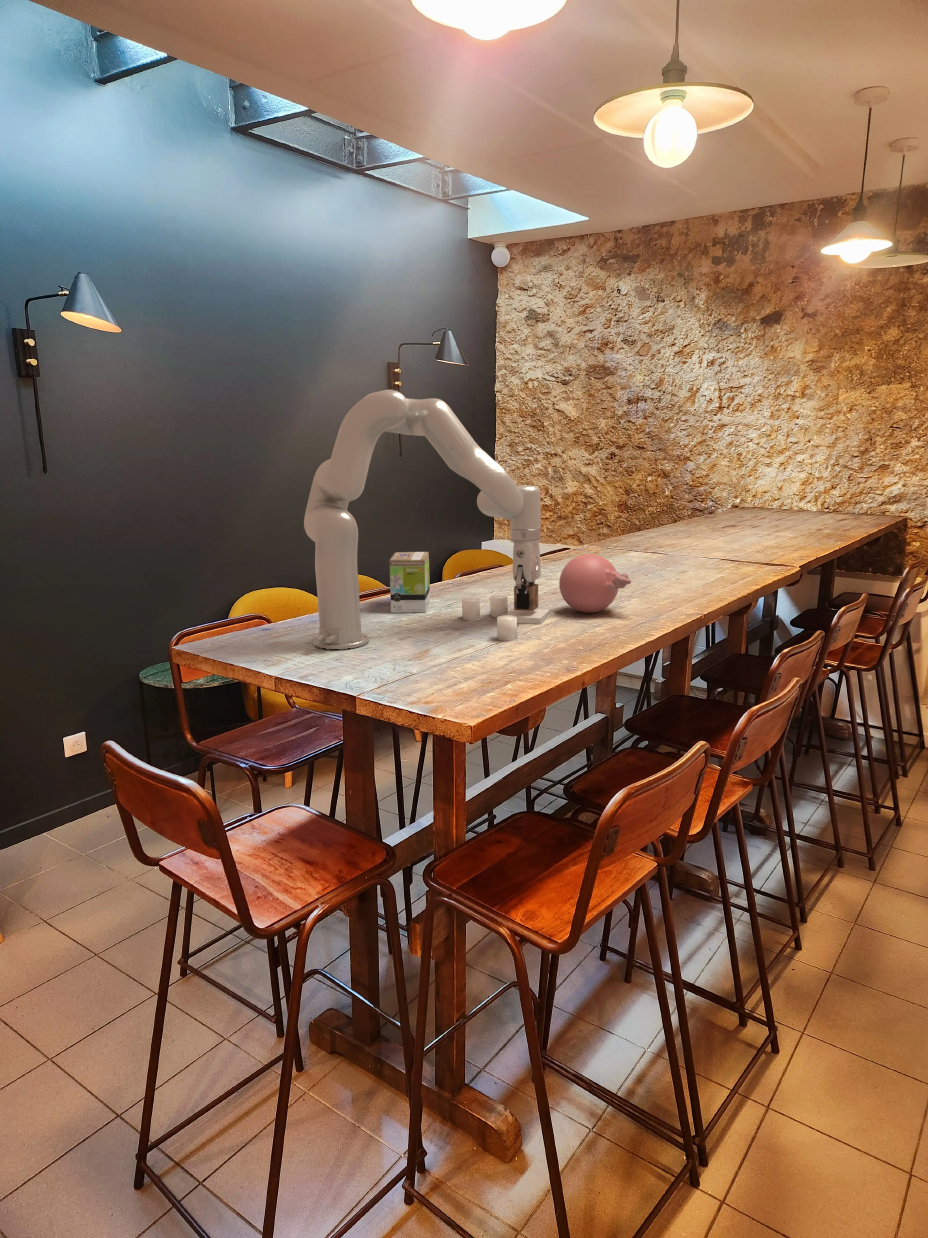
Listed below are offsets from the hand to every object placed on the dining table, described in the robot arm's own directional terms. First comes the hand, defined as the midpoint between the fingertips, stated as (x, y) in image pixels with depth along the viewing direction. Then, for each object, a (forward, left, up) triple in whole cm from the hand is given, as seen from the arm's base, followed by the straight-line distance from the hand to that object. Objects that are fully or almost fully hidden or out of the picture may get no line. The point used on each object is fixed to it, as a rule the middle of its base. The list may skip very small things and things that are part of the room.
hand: (526, 605), depth 202 cm
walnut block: (0, 0, -1) cm, 1 cm away
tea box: (+6, +35, -4) cm, 36 cm away
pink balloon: (+10, -16, -4) cm, 19 cm away
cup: (-20, -1, -3) cm, 20 cm away
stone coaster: (0, 0, -3) cm, 3 cm away
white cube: (-3, +14, -3) cm, 15 cm away
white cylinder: (+2, +8, -3) cm, 9 cm away
